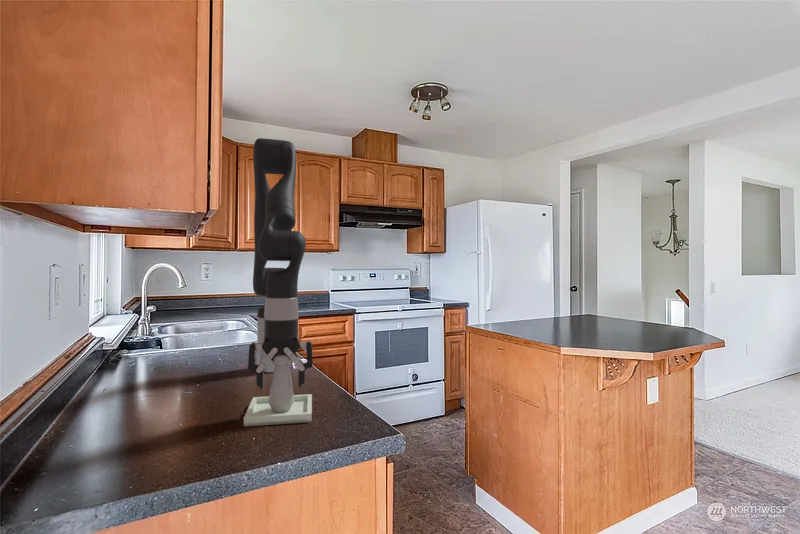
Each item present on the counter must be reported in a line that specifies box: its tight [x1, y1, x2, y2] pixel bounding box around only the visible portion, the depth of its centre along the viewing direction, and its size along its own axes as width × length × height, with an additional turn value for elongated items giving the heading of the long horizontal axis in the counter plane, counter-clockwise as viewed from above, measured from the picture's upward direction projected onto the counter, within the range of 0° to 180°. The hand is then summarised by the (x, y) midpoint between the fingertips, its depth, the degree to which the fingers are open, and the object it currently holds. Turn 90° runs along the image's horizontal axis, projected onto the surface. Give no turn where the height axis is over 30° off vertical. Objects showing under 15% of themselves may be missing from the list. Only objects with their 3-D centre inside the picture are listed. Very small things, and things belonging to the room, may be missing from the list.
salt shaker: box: [268, 355, 295, 413], centre depth 96 cm, size 6×6×13 cm
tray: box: [243, 393, 313, 427], centre depth 95 cm, size 14×14×2 cm
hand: (280, 387), depth 95 cm, fingers open, 8 cm apart
